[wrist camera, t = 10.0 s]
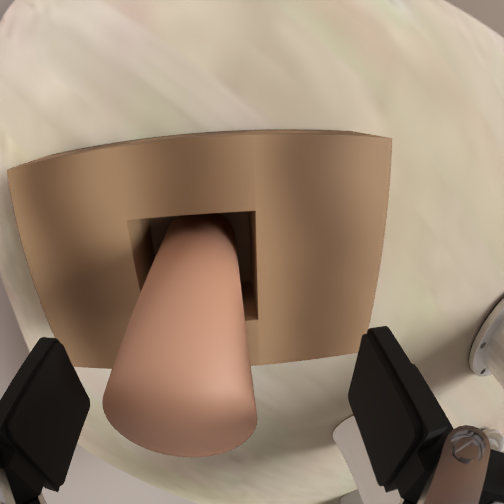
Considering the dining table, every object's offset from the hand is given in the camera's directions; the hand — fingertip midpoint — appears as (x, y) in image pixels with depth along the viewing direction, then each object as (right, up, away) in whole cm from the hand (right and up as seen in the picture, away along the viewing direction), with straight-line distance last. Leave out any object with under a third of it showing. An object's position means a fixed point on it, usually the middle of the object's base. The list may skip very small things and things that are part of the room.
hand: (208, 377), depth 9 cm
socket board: (-2, +5, +10) cm, 11 cm away
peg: (-2, +4, +9) cm, 10 cm away
